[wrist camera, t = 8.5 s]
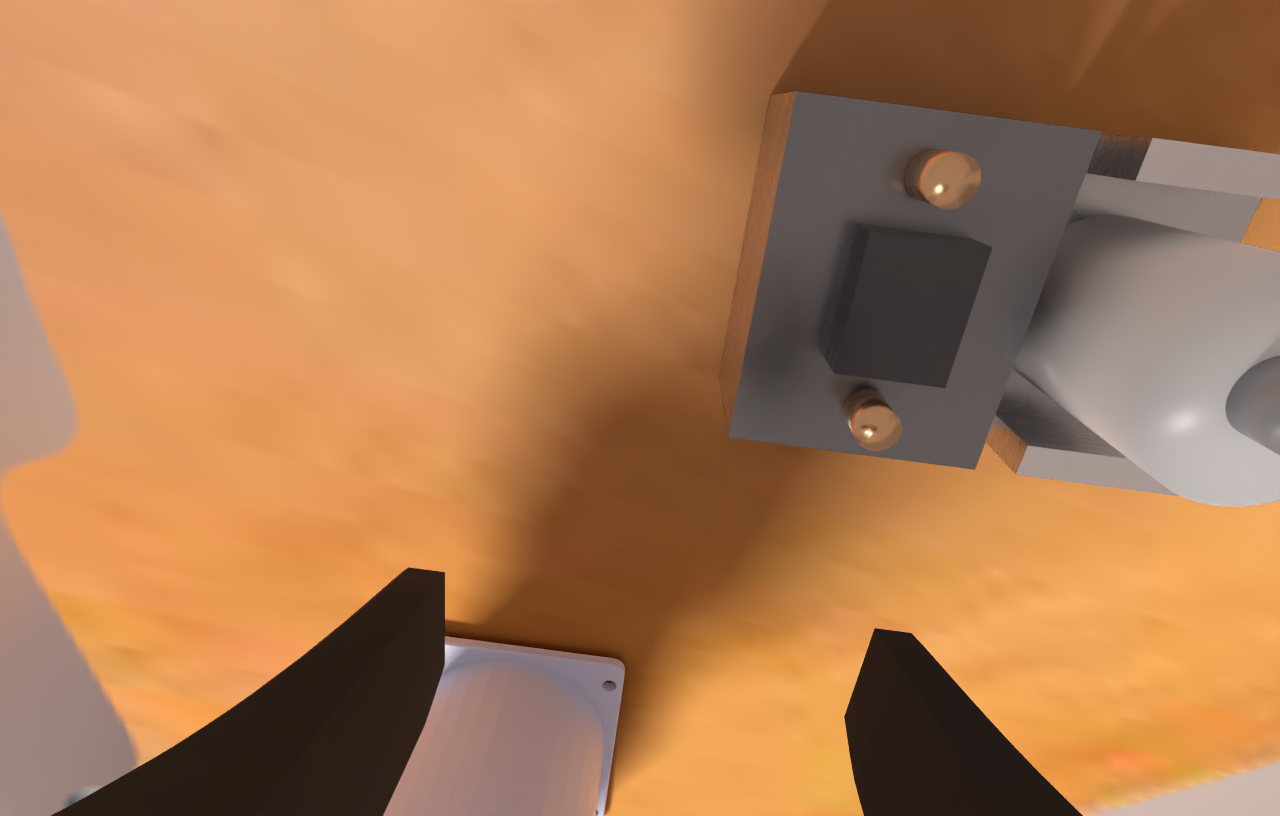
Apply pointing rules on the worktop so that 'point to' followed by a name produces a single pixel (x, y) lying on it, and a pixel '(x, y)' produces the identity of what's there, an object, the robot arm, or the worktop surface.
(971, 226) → the grey tray
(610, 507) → the worktop surface
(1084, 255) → the white cylinder
